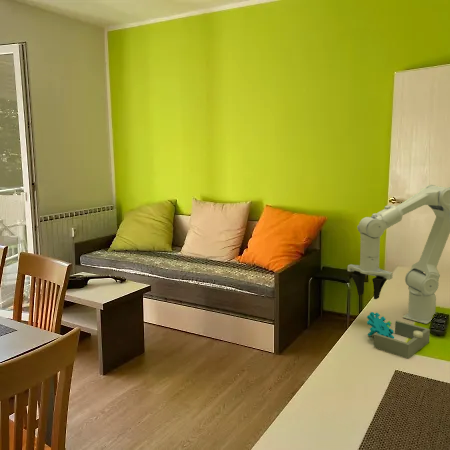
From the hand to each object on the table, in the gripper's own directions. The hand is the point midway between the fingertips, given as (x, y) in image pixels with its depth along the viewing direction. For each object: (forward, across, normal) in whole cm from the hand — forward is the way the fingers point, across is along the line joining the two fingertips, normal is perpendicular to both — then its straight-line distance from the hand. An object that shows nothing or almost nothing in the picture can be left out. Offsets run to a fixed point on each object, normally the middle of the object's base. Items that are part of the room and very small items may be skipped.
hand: (368, 296), depth 145 cm
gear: (+10, +8, -7) cm, 15 cm away
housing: (+9, +15, -7) cm, 19 cm away
